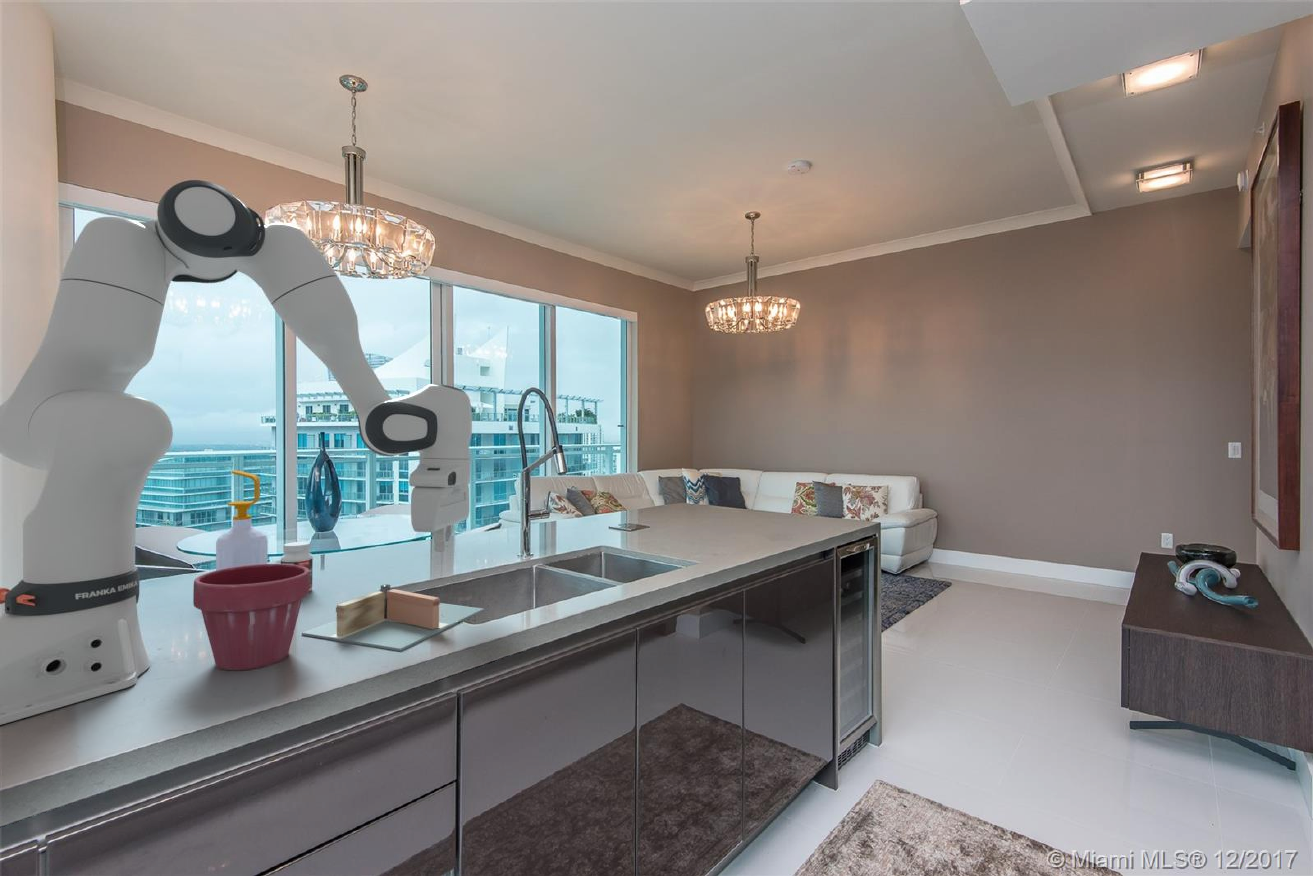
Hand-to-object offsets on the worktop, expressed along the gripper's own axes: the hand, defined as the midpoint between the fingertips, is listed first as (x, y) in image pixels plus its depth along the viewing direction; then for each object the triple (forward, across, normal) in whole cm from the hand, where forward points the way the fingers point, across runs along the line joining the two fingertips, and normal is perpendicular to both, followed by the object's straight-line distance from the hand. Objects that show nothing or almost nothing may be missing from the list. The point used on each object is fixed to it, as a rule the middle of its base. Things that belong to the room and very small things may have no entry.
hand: (442, 550), depth 111 cm
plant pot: (+14, +20, -21) cm, 32 cm away
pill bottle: (+12, -16, -35) cm, 40 cm away
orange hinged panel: (+12, +5, -3) cm, 13 cm away
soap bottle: (+12, -19, -49) cm, 54 cm away
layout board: (+12, +2, -6) cm, 14 cm away
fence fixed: (+13, +7, -11) cm, 18 cm away
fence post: (+12, +2, -9) cm, 16 cm away
